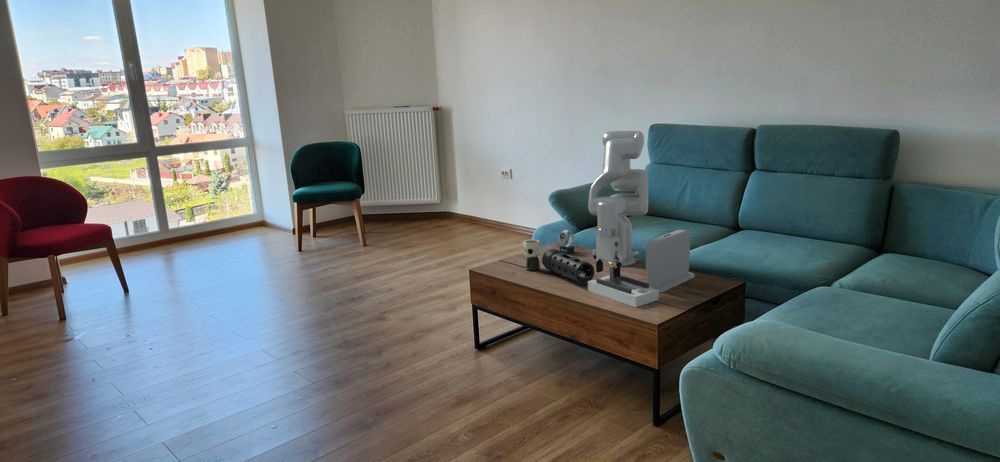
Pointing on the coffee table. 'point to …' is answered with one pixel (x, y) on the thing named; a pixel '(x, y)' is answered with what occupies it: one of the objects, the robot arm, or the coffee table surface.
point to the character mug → (532, 253)
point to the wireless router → (668, 260)
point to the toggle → (612, 279)
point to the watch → (562, 238)
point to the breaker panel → (633, 299)
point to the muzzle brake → (568, 266)
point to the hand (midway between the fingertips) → (608, 274)
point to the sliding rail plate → (621, 288)
